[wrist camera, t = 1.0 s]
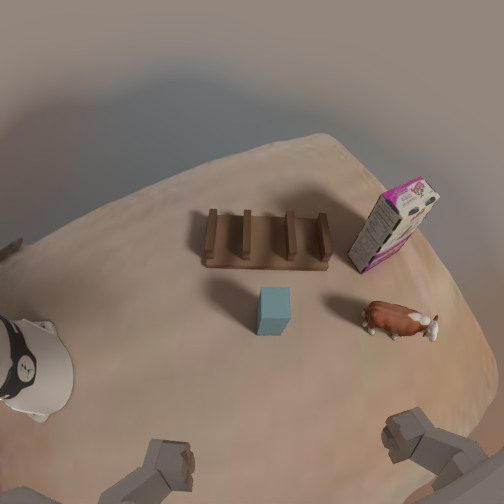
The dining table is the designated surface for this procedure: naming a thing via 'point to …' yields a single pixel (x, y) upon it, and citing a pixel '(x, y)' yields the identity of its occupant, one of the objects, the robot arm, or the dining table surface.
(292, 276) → the dining table surface
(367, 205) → the dining table surface
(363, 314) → the bull figurine
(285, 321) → the teal rectangular block
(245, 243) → the rack
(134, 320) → the dining table surface
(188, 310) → the dining table surface
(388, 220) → the candy bar box
